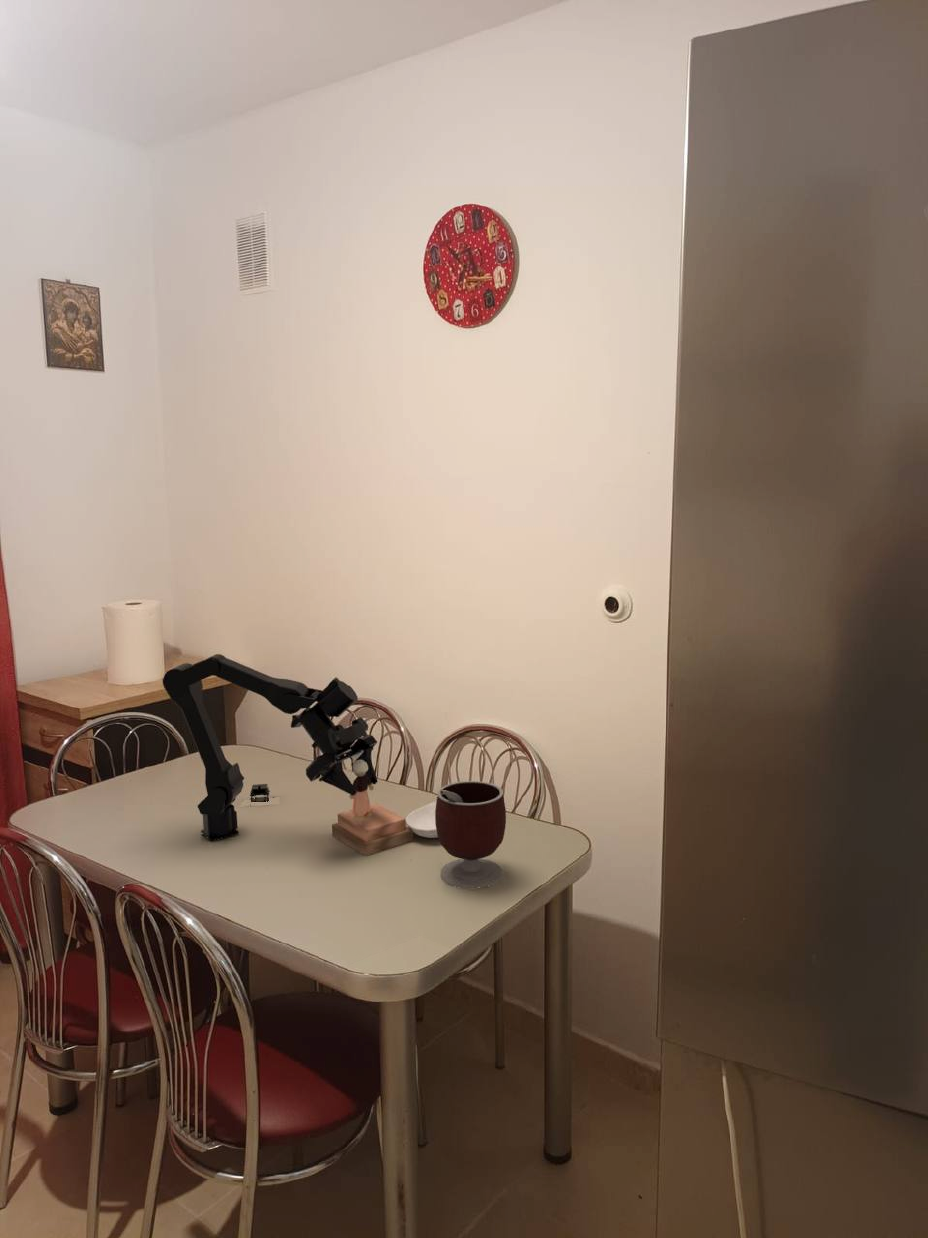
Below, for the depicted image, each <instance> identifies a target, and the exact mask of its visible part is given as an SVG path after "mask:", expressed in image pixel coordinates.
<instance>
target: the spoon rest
mask: <svg viewBox="0 0 928 1238" xmlns="http://www.w3.org/2000/svg"><path fill="white" fill-rule="evenodd" d="M436 801H437V800H435V801H432V802H430V803H428V804H426V805H424V806H420V807H418V808H416V809H414V810H413V811H411V812H410V813H409V814H407V816H406V817H405V819H406V827H408V828H410V829H411V830H412V833H414V834H416V835H417V836H419V837H422V838H425V839H438V835H437V830H436V824H435V809H436Z"/></svg>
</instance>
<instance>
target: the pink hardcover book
mask: <svg viewBox="0 0 928 1238" xmlns="http://www.w3.org/2000/svg"><path fill="white" fill-rule="evenodd" d="M369 812H370V813H371V816H370V817H366V819H365V820H362V821H361V820H354V819H353V817H354V816H355V815H356V814H353V809H351V810H348V811H344V812H340V813H337V822H336V823H333V824H331V834H332V837H334V838H336V839H337V840H339V841H341V842H343V844H346V845H347V846H348V847H350V848H352V849H353V850H355V851H357V852H358V853H359V854H361V855H363V856H364V857H367V856H370V855H373V854H374V855H375V854H376V853H379V852H382V851H386V850H388V849H389V850H390V849H392V848H395V847H398V846H400V845H405V844H407V843H411V842H413V841H414V840H413V831H412V830H411V829H410V828H409V827H408V826H407V825H406V817H404V816H401V815H399V814H398V813H396V812H393V811H392V810H389V809H388V808H386V807H384V806H382V805H380V804H378V803H376V802H375V803H372V804H370V811H369Z"/></svg>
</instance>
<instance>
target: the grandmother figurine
mask: <svg viewBox="0 0 928 1238" xmlns="http://www.w3.org/2000/svg"><path fill="white" fill-rule="evenodd" d="M353 762H354V761H353ZM353 762H352V763H353ZM352 771H353V773H354V775H355V776H356V778H355V779H354V780H353V782H352V785H353V786H354V788H355V790H356V792H357V793H356V794H355V795H354V796H353V795H351V794H349V799H350V800H353V802H352V804H353V805H352V810H353V814H356V815H355V816H354V817H353V819H354V820H361V821H362V820H365V819H366V817H370V816H371V813H370V812H369V811H370V805H371V804H370V802H371V801H370V798H369V794H368V789H369V790H370V791H374V789H375V787H374V784H373V783H372V781H371V780H370V779H369V777H368V776H367V775H365V773H366V772H367V771H368V765H367V763H366V762H365V761H364V760H356V761H355V762H354V763H353V766H352Z"/></svg>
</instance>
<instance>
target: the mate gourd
mask: <svg viewBox="0 0 928 1238" xmlns="http://www.w3.org/2000/svg"><path fill="white" fill-rule="evenodd" d="M504 797H505V796H504V791H503V789H502V788H501V787H500V786H498V785H497V784H494V783H491V782H487V781H478V780H466V781H465V780H464V781H457V782H453V783H448V784H446V785H443V786H442V787H440V788H439V789H438V791H437V797H436V800H435V801H436V809H435V824H436V830H437V835H438V838H437V839H438V841H439V844H440V845H441V846H442V848H443V849H444V850H445V851H446V852H447V853H448V854H449V855H451V856H452V857H454V858H456V859H455V860H452V861H449V862H447V863H446V864H444V865H443V866H442V867H441V869H440V878H441V880H442V881H443V882H444V883H445V884H447V885H449V886H451V885H452V886H451V887H454V886H456V887H455V888H457V887H460V888H459V889H464V888H478V887H484V886H488V885H491V886H493V885H495V884H497V883H499V882H500V880H501V879H502V878H501V877H503V869H502V867H501V866H500V865H499V864H498V863H496V862H495V861H492V860H489V859H486V858H487V857H490V856H491V855H493V854H494V853H495V852H496V851H497V849H498V848H499V847H500V845H501V844H502V843H503V841H504V836H505V831H506V825H507V824H506V823H507V812H506V811H507V809H506V804H505V803H506V802H505V799H504ZM496 882H497V883H496ZM494 883H495V884H494ZM492 884H493V885H492ZM488 887H489V886H488ZM484 888H485V887H484ZM478 889H479V888H478Z"/></svg>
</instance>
